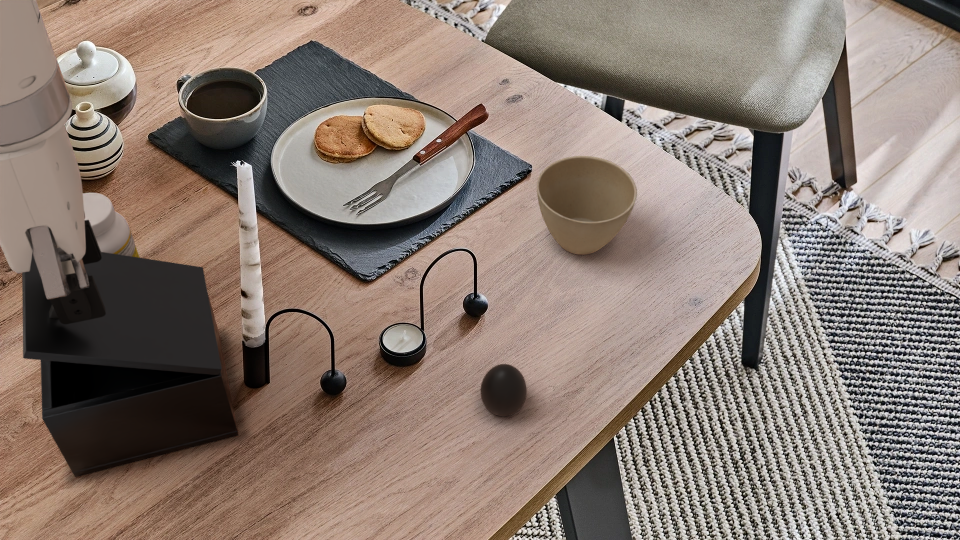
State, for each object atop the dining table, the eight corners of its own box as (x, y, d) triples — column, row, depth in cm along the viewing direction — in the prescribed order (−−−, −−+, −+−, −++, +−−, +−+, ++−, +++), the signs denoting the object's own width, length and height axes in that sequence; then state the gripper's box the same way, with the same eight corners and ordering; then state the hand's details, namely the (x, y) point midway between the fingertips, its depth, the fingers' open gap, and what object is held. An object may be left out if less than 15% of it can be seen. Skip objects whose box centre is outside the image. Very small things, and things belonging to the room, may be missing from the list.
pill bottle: (70, 305, 91) (33, 224, 83) (105, 261, 95) (74, 180, 87) (127, 321, 90) (95, 240, 82) (160, 276, 94) (133, 194, 86)
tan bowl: (586, 193, 104) (594, 143, 99) (646, 248, 99) (657, 197, 93) (513, 228, 100) (517, 177, 95) (571, 286, 95) (578, 236, 89)
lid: (22, 358, 67) (41, 307, 64) (21, 247, 75) (38, 196, 72) (218, 375, 75) (242, 330, 73) (200, 273, 83) (221, 228, 80)
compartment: (75, 478, 79) (41, 418, 72) (69, 371, 86) (38, 308, 80) (239, 436, 82) (221, 375, 75) (220, 336, 89) (202, 273, 83)
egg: (470, 404, 85) (471, 371, 81) (500, 377, 87) (502, 343, 83) (505, 430, 83) (507, 397, 79) (534, 402, 85) (538, 369, 81)
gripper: (-56, 30, 63) (30, 223, 77) (-72, 198, 52) (31, 389, 66) (62, 14, 65) (126, 205, 78) (70, 174, 54) (142, 364, 68)
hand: (82, 287), depth 72 cm, fingers closed on lid, 5 cm apart
